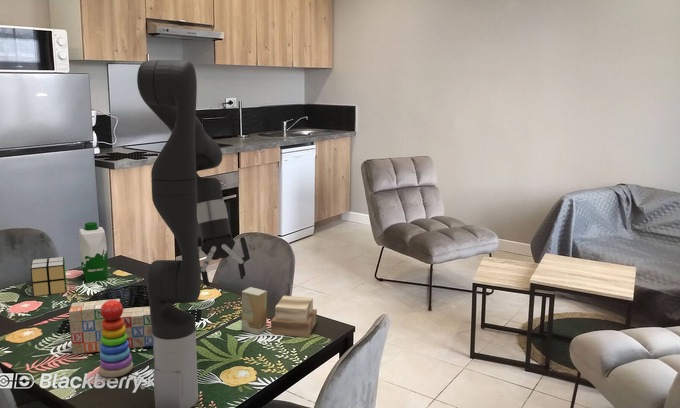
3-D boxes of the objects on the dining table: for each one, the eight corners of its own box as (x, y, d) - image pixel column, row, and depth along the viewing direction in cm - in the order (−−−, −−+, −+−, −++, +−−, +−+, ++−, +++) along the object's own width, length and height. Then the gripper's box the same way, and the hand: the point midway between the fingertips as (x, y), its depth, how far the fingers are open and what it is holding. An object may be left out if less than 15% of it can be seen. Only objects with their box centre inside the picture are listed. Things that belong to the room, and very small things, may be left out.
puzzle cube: (34, 287, 199) (31, 259, 197) (66, 283, 203) (64, 256, 201) (33, 297, 190) (30, 268, 188) (66, 293, 194) (64, 264, 192)
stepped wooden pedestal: (308, 337, 164) (308, 311, 162) (271, 333, 166) (270, 307, 164) (316, 321, 175) (316, 297, 173) (281, 318, 177) (281, 294, 175)
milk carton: (106, 272, 215) (103, 220, 211) (110, 280, 207) (106, 226, 203) (81, 276, 211) (76, 223, 206) (83, 284, 203) (79, 229, 199)
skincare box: (241, 330, 168) (240, 290, 165) (250, 325, 172) (249, 286, 169) (259, 335, 165) (258, 295, 162) (267, 329, 169) (267, 290, 166)
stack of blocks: (157, 336, 164) (155, 295, 161) (156, 346, 158) (154, 303, 155) (75, 344, 158) (72, 302, 155) (71, 354, 152) (68, 310, 149)
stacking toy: (94, 370, 144) (88, 299, 140) (125, 359, 149) (120, 291, 145) (107, 382, 138) (101, 309, 134) (138, 371, 144) (134, 300, 140)
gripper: (184, 224, 140) (196, 289, 140) (242, 213, 144) (254, 276, 143) (184, 226, 148) (196, 288, 147) (239, 215, 151) (251, 276, 151)
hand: (225, 282), depth 145 cm, fingers open, 8 cm apart
